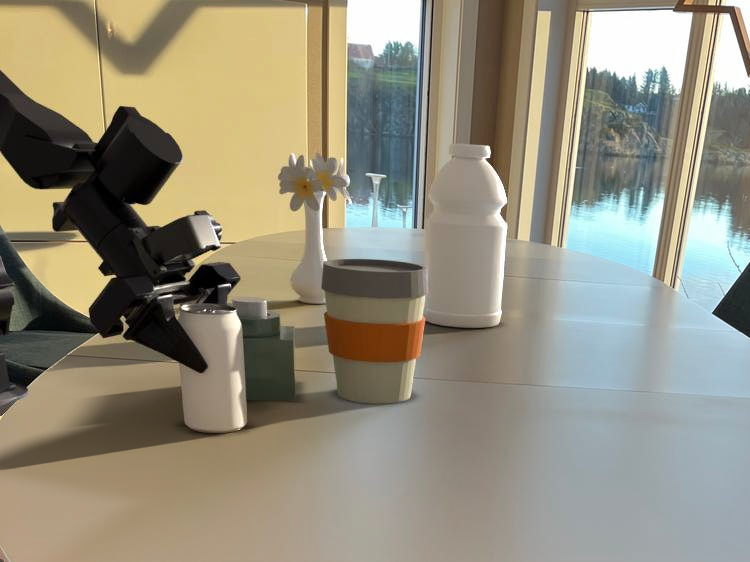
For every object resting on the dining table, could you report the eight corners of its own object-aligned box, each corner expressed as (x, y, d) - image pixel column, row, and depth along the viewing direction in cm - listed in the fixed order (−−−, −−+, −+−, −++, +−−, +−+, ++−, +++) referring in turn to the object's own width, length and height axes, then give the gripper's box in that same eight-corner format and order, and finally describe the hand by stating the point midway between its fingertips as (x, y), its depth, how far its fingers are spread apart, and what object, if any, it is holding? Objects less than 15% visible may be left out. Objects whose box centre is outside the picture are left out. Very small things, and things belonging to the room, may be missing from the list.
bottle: (430, 312, 174) (436, 142, 161) (504, 319, 173) (516, 147, 160) (415, 324, 162) (420, 141, 149) (494, 331, 161) (506, 146, 148)
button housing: (208, 399, 110) (202, 319, 106) (214, 381, 118) (209, 306, 113) (295, 401, 111) (292, 322, 107) (296, 383, 119) (293, 309, 115)
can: (256, 421, 103) (250, 306, 97) (234, 436, 97) (227, 315, 92) (199, 415, 103) (190, 300, 98) (174, 430, 98) (163, 309, 92)
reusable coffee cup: (302, 390, 116) (298, 260, 109) (378, 378, 124) (379, 256, 117) (369, 412, 109) (370, 274, 102) (445, 398, 117) (451, 269, 110)
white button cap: (231, 320, 108) (230, 301, 108) (233, 314, 112) (232, 296, 111) (266, 321, 109) (266, 302, 108) (268, 315, 113) (267, 297, 112)
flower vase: (278, 308, 169) (272, 151, 157) (285, 293, 185) (279, 150, 173) (352, 311, 170) (351, 156, 159) (352, 296, 186) (351, 154, 175)
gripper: (99, 181, 83) (216, 326, 85) (219, 179, 98) (315, 302, 101) (39, 267, 88) (151, 401, 91) (162, 252, 104) (254, 367, 106)
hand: (223, 364), depth 97 cm, fingers closed on can, 6 cm apart
